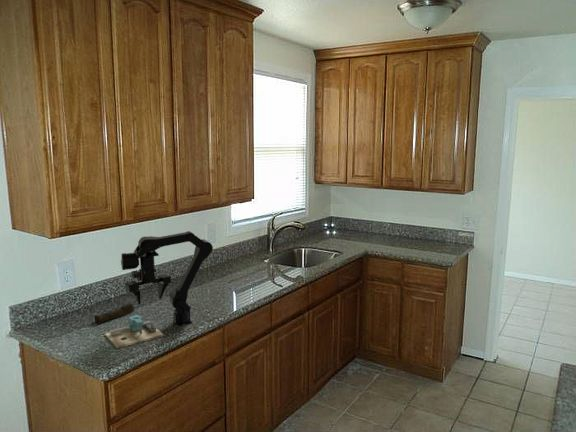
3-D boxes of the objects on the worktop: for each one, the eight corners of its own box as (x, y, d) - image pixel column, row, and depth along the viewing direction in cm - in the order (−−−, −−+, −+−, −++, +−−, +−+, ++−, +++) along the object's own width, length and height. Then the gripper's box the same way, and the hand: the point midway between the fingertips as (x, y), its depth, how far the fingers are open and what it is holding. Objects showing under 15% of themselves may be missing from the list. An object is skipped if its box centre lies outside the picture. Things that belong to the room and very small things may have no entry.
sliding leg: (138, 325, 195) (137, 314, 194) (145, 332, 188) (145, 321, 187) (129, 328, 192) (128, 316, 191) (136, 335, 185) (135, 323, 185)
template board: (149, 324, 199) (149, 322, 199) (163, 336, 187) (163, 334, 187) (105, 335, 187) (105, 333, 187) (117, 348, 176) (117, 346, 176)
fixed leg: (150, 326, 195) (150, 318, 194) (156, 331, 190) (155, 323, 189) (145, 328, 193) (144, 319, 193) (150, 332, 189) (150, 324, 188)
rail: (149, 325, 196) (149, 320, 196) (151, 326, 195) (151, 322, 195) (109, 335, 186) (109, 330, 186) (111, 336, 184) (110, 332, 184)
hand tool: (98, 325, 198) (98, 315, 197) (94, 323, 200) (93, 313, 200) (137, 313, 212) (136, 304, 212) (132, 311, 215) (132, 302, 214)
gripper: (160, 258, 203) (162, 292, 206) (118, 266, 191) (121, 301, 194) (171, 264, 195) (173, 298, 197) (128, 272, 183) (131, 309, 185)
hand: (149, 301), depth 194 cm, fingers open, 9 cm apart
